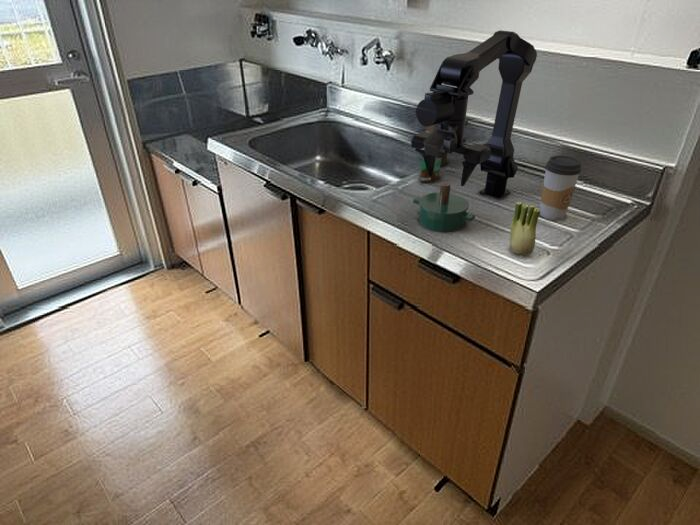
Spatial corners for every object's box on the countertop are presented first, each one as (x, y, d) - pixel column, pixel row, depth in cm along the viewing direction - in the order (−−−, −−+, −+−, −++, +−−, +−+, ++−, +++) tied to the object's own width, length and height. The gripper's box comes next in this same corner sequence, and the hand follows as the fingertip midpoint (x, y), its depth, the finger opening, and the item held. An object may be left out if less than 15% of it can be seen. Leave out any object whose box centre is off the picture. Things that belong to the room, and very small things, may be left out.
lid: (435, 192, 132) (438, 170, 129) (477, 205, 125) (480, 183, 122) (409, 207, 124) (410, 185, 121) (451, 222, 117) (454, 199, 114)
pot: (426, 204, 135) (428, 188, 132) (481, 223, 126) (484, 206, 123) (402, 219, 128) (403, 202, 125) (458, 240, 118) (461, 222, 116)
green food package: (441, 186, 146) (444, 153, 140) (420, 184, 147) (422, 152, 141) (442, 170, 156) (446, 140, 151) (423, 169, 157) (425, 138, 152)
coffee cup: (552, 225, 125) (566, 168, 117) (528, 212, 131) (539, 158, 123) (575, 218, 128) (590, 163, 120) (551, 205, 134) (563, 152, 126)
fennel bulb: (504, 247, 115) (513, 200, 109) (523, 245, 116) (533, 198, 110) (516, 260, 111) (526, 211, 104) (536, 257, 112) (547, 209, 105)
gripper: (399, 117, 113) (396, 180, 121) (471, 133, 102) (462, 202, 111) (426, 107, 120) (421, 168, 128) (496, 121, 109) (486, 187, 118)
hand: (446, 180), depth 121 cm, fingers open, 9 cm apart
